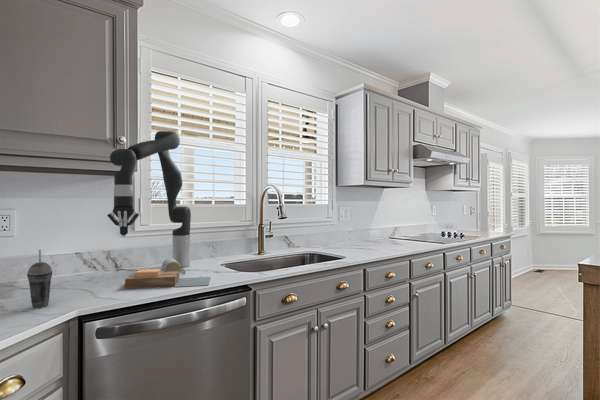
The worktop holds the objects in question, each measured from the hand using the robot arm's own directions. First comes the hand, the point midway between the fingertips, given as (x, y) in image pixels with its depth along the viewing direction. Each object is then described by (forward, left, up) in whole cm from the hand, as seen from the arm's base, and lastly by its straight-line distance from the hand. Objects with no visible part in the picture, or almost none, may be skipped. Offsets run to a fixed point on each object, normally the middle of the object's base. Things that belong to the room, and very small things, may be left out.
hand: (123, 235), depth 152 cm
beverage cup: (+26, -20, -22) cm, 40 cm away
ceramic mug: (-19, +18, -22) cm, 34 cm away
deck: (0, +12, -22) cm, 25 cm away
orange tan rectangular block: (0, +10, -18) cm, 21 cm away
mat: (0, +29, -22) cm, 36 cm away
